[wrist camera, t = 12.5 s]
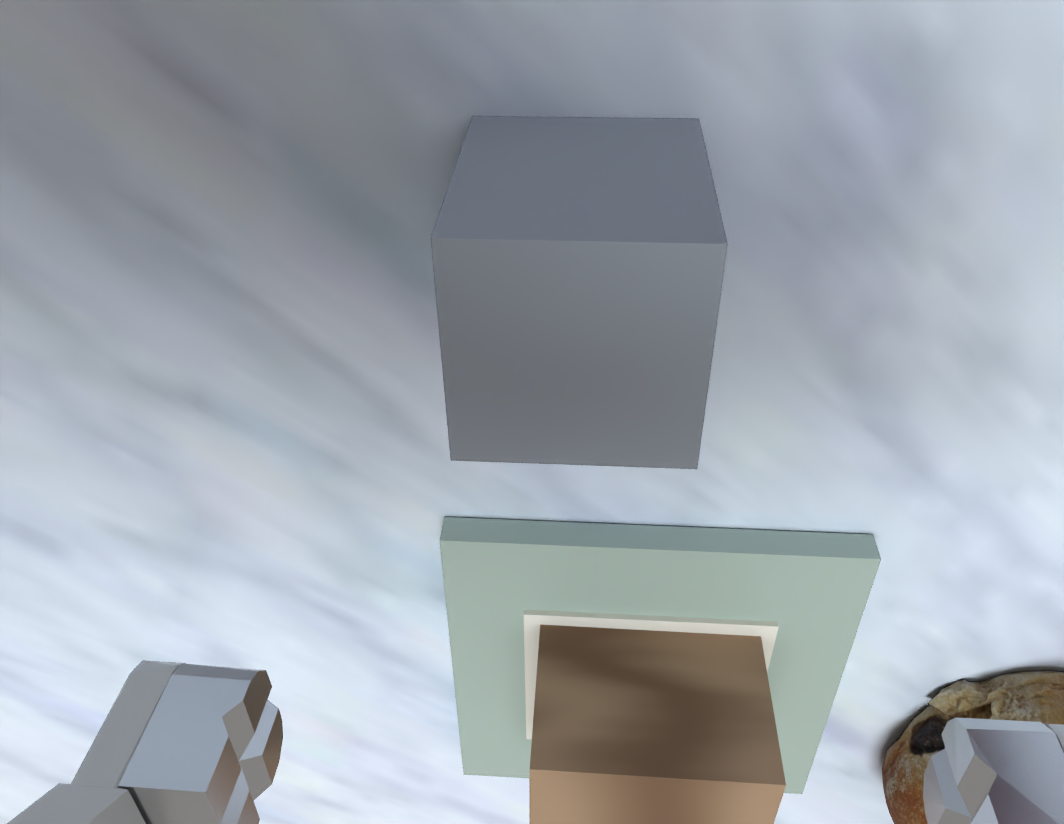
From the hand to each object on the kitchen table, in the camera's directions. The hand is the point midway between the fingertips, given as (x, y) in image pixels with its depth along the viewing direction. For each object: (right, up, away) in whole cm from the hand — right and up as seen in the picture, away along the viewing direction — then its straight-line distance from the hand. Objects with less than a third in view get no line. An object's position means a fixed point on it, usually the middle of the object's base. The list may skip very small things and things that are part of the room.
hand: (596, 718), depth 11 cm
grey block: (0, +8, +10) cm, 13 cm away
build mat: (+3, -5, +20) cm, 21 cm away
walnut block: (+3, -6, +19) cm, 20 cm away
